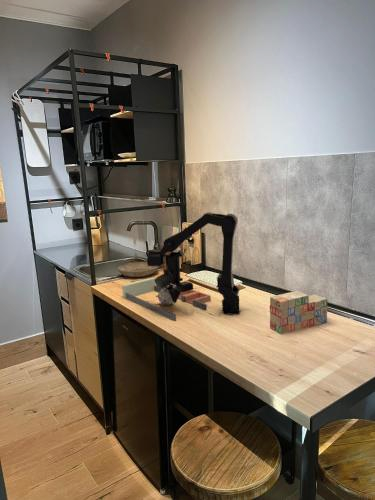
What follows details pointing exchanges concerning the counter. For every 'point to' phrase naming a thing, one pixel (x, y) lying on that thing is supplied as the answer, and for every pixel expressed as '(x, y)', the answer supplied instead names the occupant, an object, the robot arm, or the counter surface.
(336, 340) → the counter surface
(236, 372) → the counter surface
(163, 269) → the baking soda box
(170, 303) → the game die
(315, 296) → the stack of blocks
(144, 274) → the ceramic bowl
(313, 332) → the counter surface
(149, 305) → the lane rails
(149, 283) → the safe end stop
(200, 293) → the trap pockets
